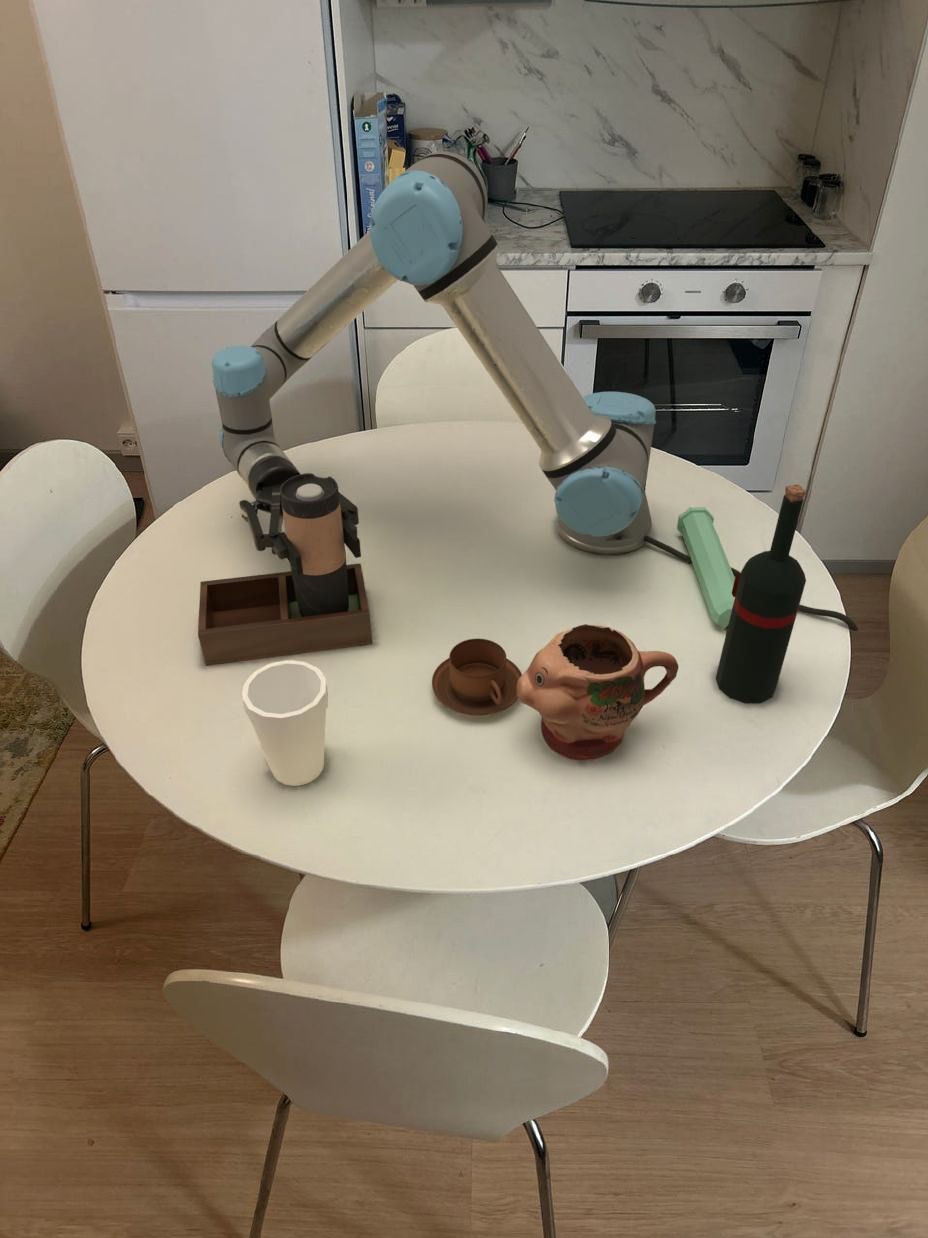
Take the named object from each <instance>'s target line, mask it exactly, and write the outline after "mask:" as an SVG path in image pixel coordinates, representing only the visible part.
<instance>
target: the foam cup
mask: <svg viewBox="0 0 928 1238" xmlns="http://www.w3.org/2000/svg"><path fill="white" fill-rule="evenodd" d="M242 686H243V687H242V693H241V699H242V704H243V708H244V712H245V714H246V716H247V718H248V720H249V722H250V723H251V726H252V728H253V730H254V733H255V735H256V738H257V740H258V742H259V744H260V747H261V750H262V752H263V755H264V757H265V760H266V762H267V764H268V767H269V769H270V771H271V774H272V775H273V776H274V779H275V780H276V781H277V782H279V783H281V784H283V785H285V786H293V787H298V786H303V785H307V784H309V783H311V782H313V781H314V780H316V779H317V778H318V777H320V774H321V773H322V772H323V770H324V766H325V765H324V764H325V742H326V716H327V715H326V714H327V708H328V705H329V690H328V684H327V678H326V676H325V675H324V674H323V672H322V671H321V670H320V668H319V667H317V666H314V665H313V664H311V663H308V662H306V661H301V660H291V659H290V660H289V659H285V660H281V661H276V662H270V663H268V664H266V665H264V666H262V667H260V668H259V669H257V670H255V671H253V672H252V673H251V675H250V676H249V677H248V678H247V679H246V681H244V683H243V685H242Z"/></svg>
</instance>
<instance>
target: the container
mask: <svg viewBox="0 0 928 1238" xmlns="http://www.w3.org/2000/svg"><path fill="white" fill-rule="evenodd" d="M714 521H715V517H714V515H713V514H712V513H711V512H710V511H709V510H708V509H707V508H706V507H704V506H700V507H699V506H698V507H697V506H695V507H694V506H693V507H688V509H686V510H685V511H683V512H682V513H681V514H679V515H678V518H677V524H676V529H677V531H678V532H679V533H680V535H682V537H683V541H684V544H685V546H686V549H687V552H688V554H689V555H688V556H690V558H691V560H692V563H693V564H692V566H693V569H694V572H695V575H696V577H697V581H698V583H699V586H700V589H701V592H702V594H703V597H704V601H705V603H706V606H707V609H708V612H709V615H710V617H711V620H712V621H713V622H714V623H715V624H717V626H718V627H720V628H721V629H723V630H724V629H725V628H726V627H727V626H728V624H729V620H730V616H731V612H732V608H733V604H734V599H735V597H733V595H732V589H733V585H734V580H735V576H734V575H733V572H732V570H731V565H730V563H729V560H728V557H727V555H726V552H725V550H724V547H723V544H722V542H721V541H720V537H719V535H718V532H717V530H716V528H715V525H714Z"/></svg>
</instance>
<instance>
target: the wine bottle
mask: <svg viewBox="0 0 928 1238" xmlns="http://www.w3.org/2000/svg"><path fill="white" fill-rule="evenodd" d="M784 493H785V494H784V495H783V497H782V502H781V506H780V509H779V512H778V516H777V517H778V518H777V522H776V525H775V528H774V533H773V537H772V541H771V545H770V549H769V550H765V551H761V552H760V553H757V554H754V555H753V556H751V557H750V558H749V559H748V560H747V561H746V562H745V564H744V565H743V567H742V569H741V571H740V572H741V573H738V574H737V576H736V577H735V576H734V577H735V580H734V585H733V589H732V595H733V597H735V599H734V604H733V608H732V612H731V616H730V620H729V624H728V626H727V627H726V628H725V629H723V631H726V633H725V637H724V641H723V645H722V649H721V654H720V658H719V662H718V666H717V671H716V675H715V681H716V684H717V687H718V690H720V691H721V692H722V694H724V695H726V696H727V697H728V698H729V699H732V700H734V701H737V702H740V703H743V704H763V703H764V702H766V701H768V700H770V699H772V698H773V697H774V694H775V692H776V690H777V687H778V683H779V679H780V676H781V673H782V670H783V665H784V662H785V658H786V655H787V650H788V647H789V644H790V640H791V636H792V633H793V630H794V625H795V622H796V618H797V616H798V612H799V611H798V608H799V605H801V600H802V596H803V594H804V590H805V585H806V583H807V578H806V574H805V572H804V569H803V568H802V566H801V564H800V562H799V561H798V559H796V558H794V557H793V556H791V555H790V553H791V549H792V545H793V541H794V537H795V533H796V530H797V526H798V522H799V519H800V516H801V511H802V506H803V504H804V498H805V495H806V493H807V491H806V490H805V488H803V487H802V486H801V485H800V484H799V483H798V484H790V485H785V492H784Z"/></svg>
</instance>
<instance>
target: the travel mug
mask: <svg viewBox="0 0 928 1238" xmlns="http://www.w3.org/2000/svg"><path fill="white" fill-rule="evenodd" d="M339 492H340V490H339V485H338V482H337V481H336V480H335V479H334V478H333V477H332V476H328V477H320V476H316V475H315V473H310V472H309V473H308V472H306V473H300V475H297V476H294V477H292V478H290V479H288V480H286V481H285V482H284V483H283V484H282V486H281V489H280V494H281V501H282V509H283V524H284V532H285V534H286V536H287V538H288V539H289V540H290V541H291V543H292V544H293V546H294V547H295V549H296V550H297V552H298V553H299V555H300V556H301V561H302V568H303V574H300V575H297V573H296V572H295V570H294V569H293V567H292V566H291V564H290V563H289V566H290V571H292V577H293V582H294V587H295V593H296V598H297V603H298V608H299V612H300V615H301V616H302V617H307V616H316V615H324V614H332V613H340V612H347V611H348V608H349V597H348V581H347V565H348V564H347V553H346V544H345V543H344V535H343V526H342V517H341V508H340V499H339Z"/></svg>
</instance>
